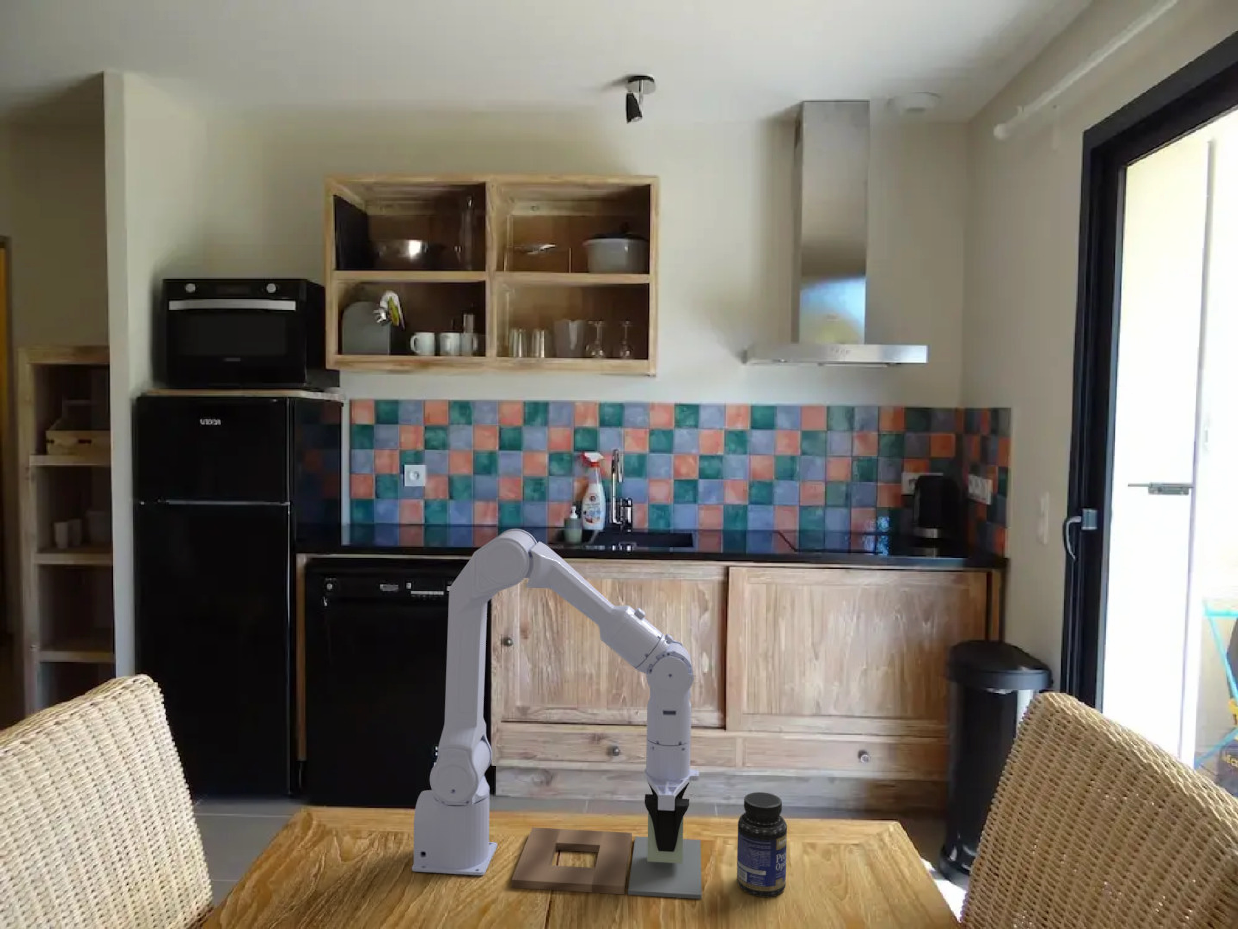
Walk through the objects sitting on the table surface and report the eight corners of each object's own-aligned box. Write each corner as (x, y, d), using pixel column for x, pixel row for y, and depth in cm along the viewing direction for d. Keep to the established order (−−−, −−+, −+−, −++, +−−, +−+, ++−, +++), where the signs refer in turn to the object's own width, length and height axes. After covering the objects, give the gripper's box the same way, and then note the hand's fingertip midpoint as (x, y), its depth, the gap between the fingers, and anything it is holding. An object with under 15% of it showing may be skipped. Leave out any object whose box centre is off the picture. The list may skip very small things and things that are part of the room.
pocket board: (511, 887, 107) (511, 879, 107) (532, 834, 121) (532, 827, 121) (623, 894, 106) (624, 886, 106) (631, 840, 120) (631, 832, 120)
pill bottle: (785, 901, 105) (787, 813, 105) (734, 895, 106) (736, 807, 106) (785, 876, 111) (787, 791, 111) (738, 870, 113) (739, 787, 112)
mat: (628, 894, 106) (628, 890, 106) (635, 840, 120) (635, 836, 120) (701, 899, 106) (701, 895, 106) (700, 843, 119) (700, 840, 119)
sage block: (647, 861, 111) (648, 815, 110) (649, 844, 115) (649, 800, 115) (682, 863, 110) (683, 817, 110) (682, 846, 115) (683, 802, 115)
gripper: (700, 761, 105) (697, 871, 105) (699, 720, 119) (697, 817, 120) (641, 758, 105) (640, 867, 106) (647, 718, 120) (646, 814, 120)
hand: (666, 840), depth 113 cm, fingers open, 4 cm apart
